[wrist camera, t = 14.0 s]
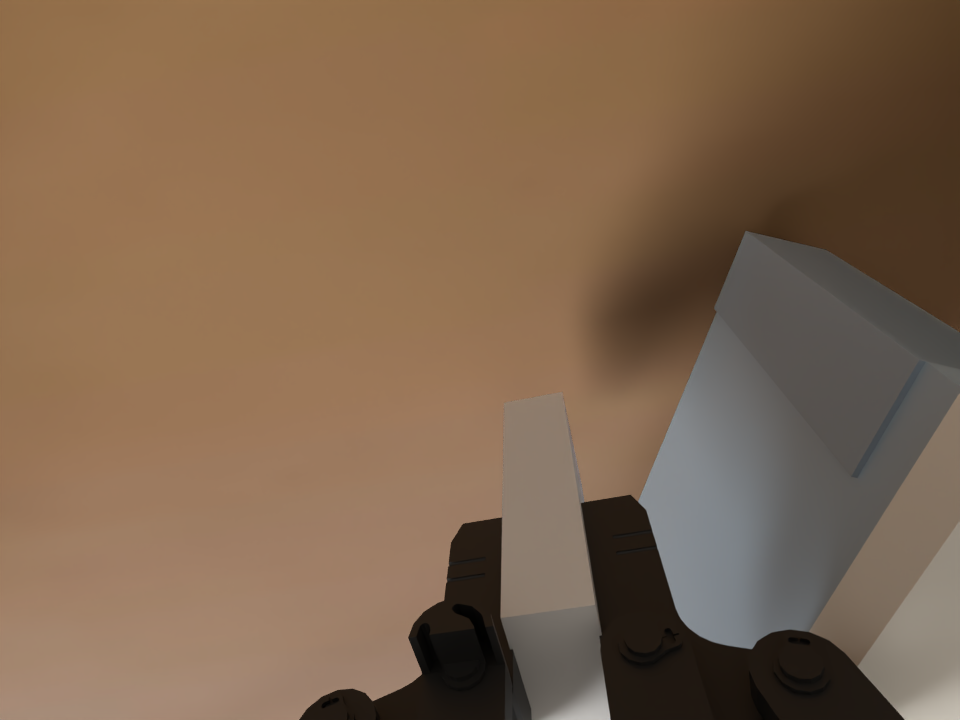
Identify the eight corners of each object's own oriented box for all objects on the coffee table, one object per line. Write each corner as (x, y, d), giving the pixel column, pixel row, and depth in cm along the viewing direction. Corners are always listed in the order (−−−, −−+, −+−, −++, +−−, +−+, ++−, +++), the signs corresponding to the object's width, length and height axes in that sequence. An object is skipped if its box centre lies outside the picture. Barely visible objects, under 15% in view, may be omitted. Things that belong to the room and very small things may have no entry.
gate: (575, 785, 24) (610, 1148, 16) (519, 775, 24) (526, 1136, 16) (829, 250, 15) (1201, 478, 7) (741, 229, 15) (1018, 438, 7)
